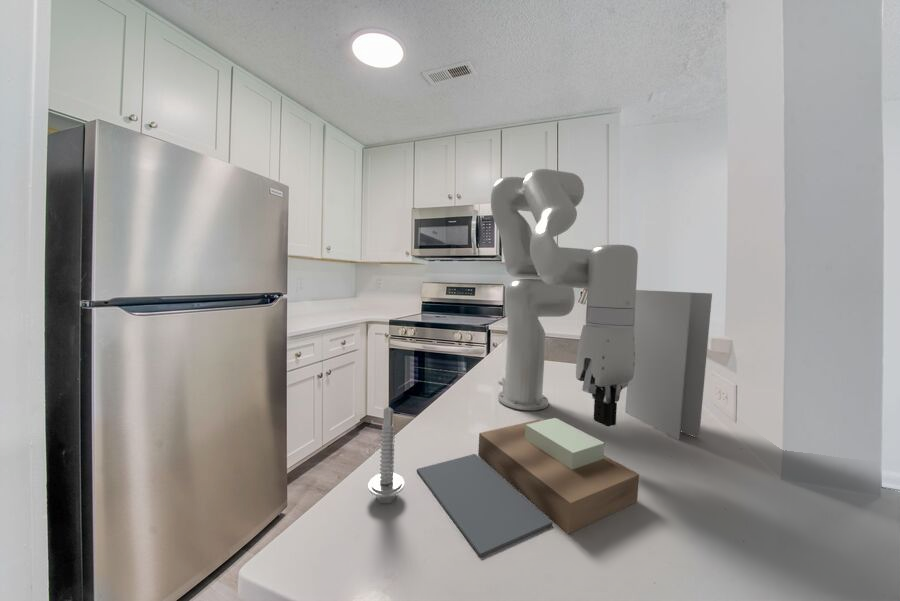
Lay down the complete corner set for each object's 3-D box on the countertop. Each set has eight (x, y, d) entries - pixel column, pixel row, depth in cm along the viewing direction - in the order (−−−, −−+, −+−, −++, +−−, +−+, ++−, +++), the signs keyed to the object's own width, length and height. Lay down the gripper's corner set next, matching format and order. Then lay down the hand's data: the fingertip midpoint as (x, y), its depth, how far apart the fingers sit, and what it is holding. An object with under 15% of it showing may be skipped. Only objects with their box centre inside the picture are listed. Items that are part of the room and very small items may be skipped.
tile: (524, 438, 56) (525, 424, 56) (554, 431, 59) (555, 417, 59) (571, 469, 47) (572, 452, 47) (603, 458, 51) (604, 442, 50)
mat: (416, 471, 52) (416, 468, 52) (474, 456, 57) (475, 453, 57) (479, 557, 36) (480, 553, 36) (552, 525, 42) (552, 522, 42)
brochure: (699, 438, 68) (712, 293, 66) (678, 440, 67) (690, 292, 65) (643, 410, 82) (653, 290, 80) (625, 412, 80) (634, 289, 78)
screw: (402, 509, 43) (365, 510, 43) (404, 486, 48) (371, 487, 48) (405, 413, 43) (367, 413, 42) (407, 400, 47) (373, 399, 47)
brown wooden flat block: (478, 455, 58) (479, 433, 57) (537, 439, 64) (538, 419, 64) (568, 534, 40) (570, 503, 40) (637, 501, 47) (639, 474, 47)
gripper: (616, 315, 63) (612, 409, 64) (561, 316, 56) (556, 422, 57) (657, 319, 57) (651, 423, 57) (600, 321, 50) (594, 440, 50)
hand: (604, 422), depth 57 cm, fingers closed
